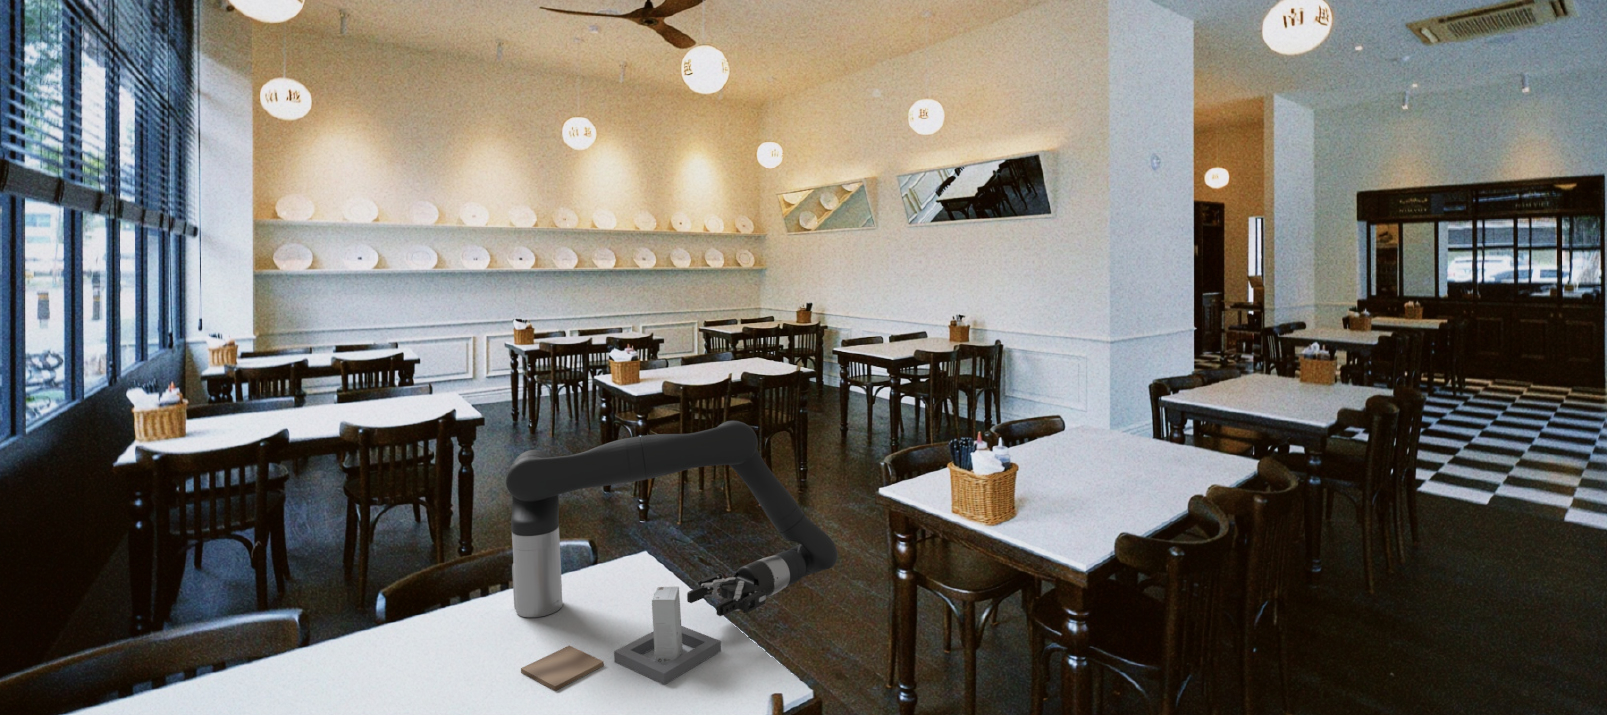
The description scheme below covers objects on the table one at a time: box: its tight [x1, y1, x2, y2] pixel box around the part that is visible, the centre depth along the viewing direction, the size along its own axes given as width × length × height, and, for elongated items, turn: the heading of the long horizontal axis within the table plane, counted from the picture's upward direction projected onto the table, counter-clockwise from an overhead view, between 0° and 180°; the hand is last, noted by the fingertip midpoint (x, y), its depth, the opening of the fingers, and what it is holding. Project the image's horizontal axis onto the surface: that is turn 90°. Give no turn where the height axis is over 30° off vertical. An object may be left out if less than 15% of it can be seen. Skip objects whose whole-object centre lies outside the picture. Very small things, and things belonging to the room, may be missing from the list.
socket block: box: [613, 625, 722, 686], centre depth 135 cm, size 13×14×2 cm
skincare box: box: [651, 586, 683, 665], centre depth 134 cm, size 6×4×12 cm
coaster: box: [520, 645, 605, 692], centre depth 131 cm, size 10×10×1 cm
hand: (702, 604), depth 140 cm, fingers open, 8 cm apart
